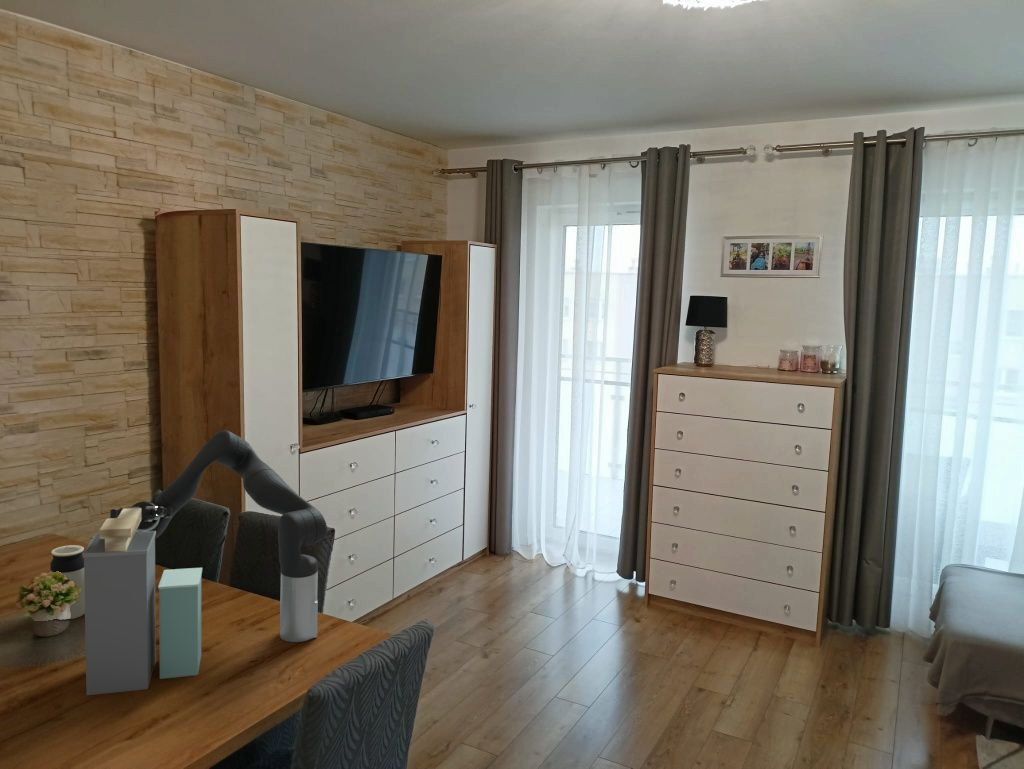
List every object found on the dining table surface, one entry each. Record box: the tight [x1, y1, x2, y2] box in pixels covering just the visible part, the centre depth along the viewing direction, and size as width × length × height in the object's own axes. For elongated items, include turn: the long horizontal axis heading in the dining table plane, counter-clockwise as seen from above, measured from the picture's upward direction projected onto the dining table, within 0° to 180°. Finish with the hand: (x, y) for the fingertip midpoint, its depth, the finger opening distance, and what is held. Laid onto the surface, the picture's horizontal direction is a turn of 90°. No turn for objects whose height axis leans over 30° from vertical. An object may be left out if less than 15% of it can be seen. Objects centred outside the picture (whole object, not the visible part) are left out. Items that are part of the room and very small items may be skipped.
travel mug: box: [49, 544, 85, 620], centre depth 198 cm, size 8×8×18 cm
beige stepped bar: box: [98, 508, 141, 552], centre depth 170 cm, size 6×22×5 cm, turn 18°
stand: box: [82, 531, 157, 696], centre depth 168 cm, size 12×13×32 cm
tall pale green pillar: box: [157, 567, 203, 680], centre depth 175 cm, size 8×10×22 cm
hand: (140, 511), depth 188 cm, fingers open, 8 cm apart
